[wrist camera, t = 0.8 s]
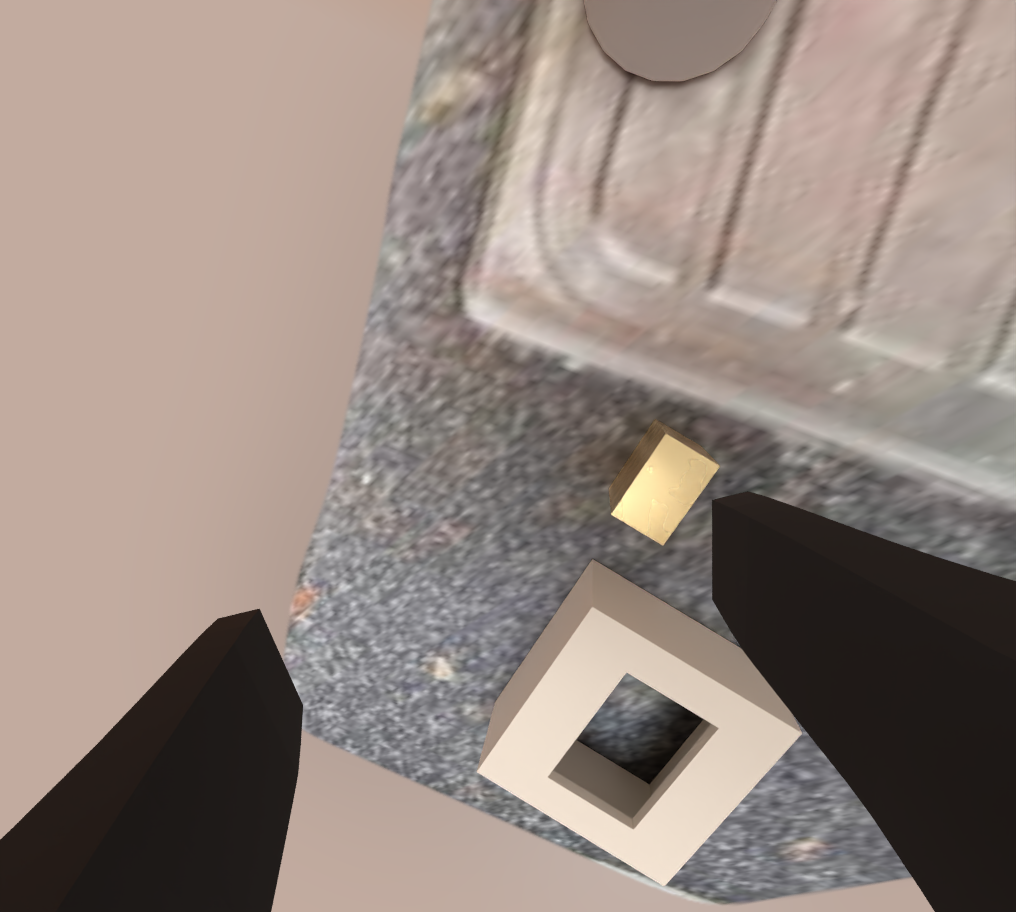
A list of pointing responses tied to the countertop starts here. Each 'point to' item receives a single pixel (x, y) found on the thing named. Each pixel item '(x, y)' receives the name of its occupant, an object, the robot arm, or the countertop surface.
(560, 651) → the box
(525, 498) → the countertop surface
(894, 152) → the countertop surface
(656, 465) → the block
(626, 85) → the countertop surface
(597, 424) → the countertop surface
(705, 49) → the can
